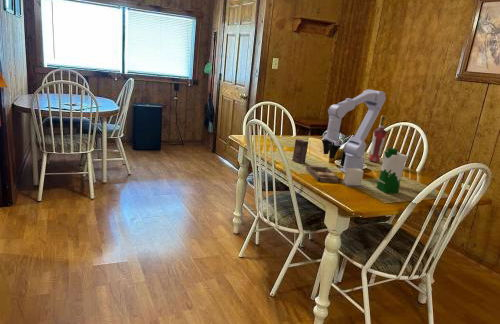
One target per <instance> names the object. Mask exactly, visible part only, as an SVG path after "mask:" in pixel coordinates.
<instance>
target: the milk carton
mask: <svg viewBox="0 0 500 324" xmlns="http://www.w3.org/2000/svg"><path fill="white" fill-rule="evenodd" d="M382 155H383V158H382V159H383V161H382V164H381V169H380V174H379V177H378V181H377V183H376V184H377V185H376V186H375V187H376V189H378V190H380V191H381V192H382V193H384V194H399V190H400V184H401V179H402V175H403V171H404V167H405V164H406V162H407V160H408V158H409V155H406V154H403V153H401V152H399V151H398V149H397V148H395V147H394V148H393V147H388V149H387V151H386V150H383V154H382Z"/></svg>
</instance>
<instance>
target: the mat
mask: <svg viewBox="0 0 500 324" xmlns="http://www.w3.org/2000/svg"><path fill="white" fill-rule="evenodd" d="M343 181H344V180H340V183H342V184H343V185H344V186H346V187H347V188H349V187H350V188H364V186H363V185H362V184H361V185H347V184H345V183H344V182H343Z"/></svg>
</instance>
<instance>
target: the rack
mask: <svg viewBox="0 0 500 324" xmlns="http://www.w3.org/2000/svg"><path fill="white" fill-rule="evenodd" d="M305 169H306V172H307V173H308V174H309V175H311V176H312V177H313V178H314V179H315V180H316V181H317V182H321V183H322V182H323V183H334V184H335V183H339V184H340V183H341V181H342V180H341V177H339V176H338V175H337V174H335V175H336V177H335V178H330V177H320V176H318V175H317V173H316V172H326V173H334V172H333V171H332V170H331V169H330V168H328V167H327V166H326V167H325V166H313V165H312V166H311V165H306V167H305Z"/></svg>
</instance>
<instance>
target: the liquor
mask: <svg viewBox="0 0 500 324" xmlns="http://www.w3.org/2000/svg"><path fill="white" fill-rule="evenodd" d="M386 118H387V117H386V115H381V116H380V121H379V125H378V128H375V129H373V133H372V138H371V139H372V141H371V146H370V153H369V157H368V160H369V162H372V163H379V162H380V161H381V159H380V158H381V154H382V150H383V147H384V144H385V139H386V136H387V130H385V129H384V128H385V121H386Z"/></svg>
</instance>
